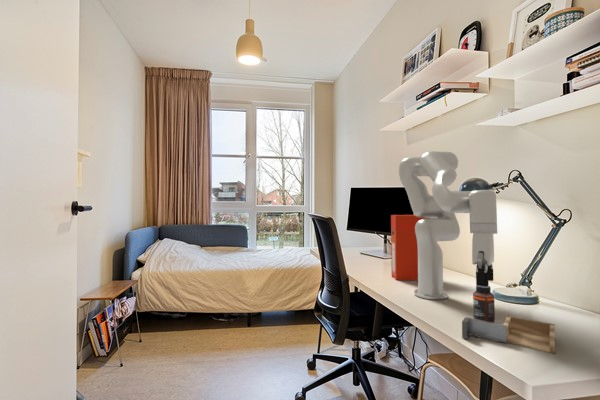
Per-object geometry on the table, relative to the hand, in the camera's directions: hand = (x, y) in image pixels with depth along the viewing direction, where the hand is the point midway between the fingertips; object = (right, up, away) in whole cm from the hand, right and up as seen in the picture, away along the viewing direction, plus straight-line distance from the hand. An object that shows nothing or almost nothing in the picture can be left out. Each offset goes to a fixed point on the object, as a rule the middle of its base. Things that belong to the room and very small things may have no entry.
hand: (485, 282), depth 99 cm
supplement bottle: (0, -13, 0) cm, 13 cm away
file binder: (-3, -14, +59) cm, 61 cm away
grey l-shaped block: (-8, -12, -14) cm, 20 cm away
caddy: (+4, -12, -13) cm, 19 cm away
